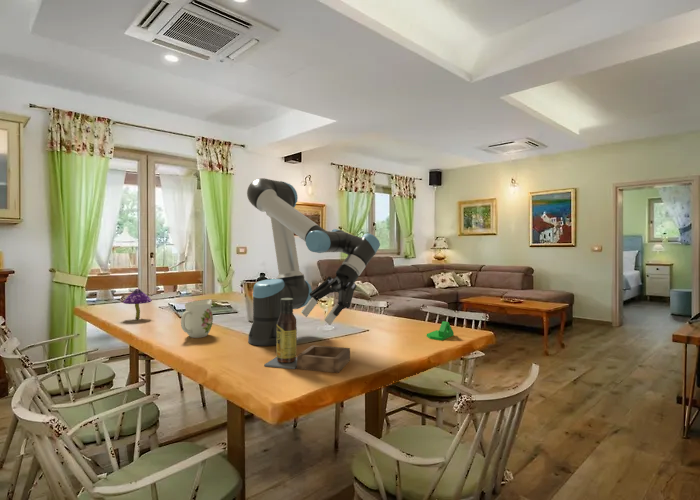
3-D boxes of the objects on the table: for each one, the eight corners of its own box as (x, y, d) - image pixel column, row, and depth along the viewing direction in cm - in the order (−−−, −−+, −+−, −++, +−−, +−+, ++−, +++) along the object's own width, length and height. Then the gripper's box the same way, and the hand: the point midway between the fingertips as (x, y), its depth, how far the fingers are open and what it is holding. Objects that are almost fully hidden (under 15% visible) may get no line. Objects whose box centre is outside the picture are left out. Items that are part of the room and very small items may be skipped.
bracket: (436, 333, 173) (436, 317, 172) (453, 336, 168) (453, 319, 168) (423, 338, 163) (423, 321, 163) (441, 341, 158) (441, 324, 158)
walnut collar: (297, 368, 121) (297, 355, 121) (312, 357, 134) (312, 345, 134) (338, 372, 118) (338, 359, 118) (349, 360, 130) (349, 348, 130)
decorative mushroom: (118, 319, 195) (118, 288, 194) (145, 316, 204) (145, 286, 204) (129, 323, 187) (129, 290, 186) (156, 319, 196) (156, 288, 196)
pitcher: (169, 340, 154) (169, 304, 154) (199, 330, 172) (199, 298, 172) (194, 342, 152) (194, 306, 151) (221, 332, 169) (221, 299, 169)
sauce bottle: (277, 358, 130) (277, 296, 129) (296, 358, 130) (297, 296, 130) (275, 364, 123) (275, 299, 123) (295, 364, 124) (296, 299, 124)
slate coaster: (264, 366, 123) (264, 364, 123) (278, 357, 133) (278, 355, 133) (294, 369, 121) (294, 367, 121) (306, 359, 130) (306, 358, 130)
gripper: (380, 281, 135) (344, 333, 126) (334, 273, 154) (301, 317, 145) (368, 266, 131) (331, 319, 122) (323, 260, 150) (288, 305, 141)
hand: (315, 318), depth 134 cm, fingers open, 13 cm apart
